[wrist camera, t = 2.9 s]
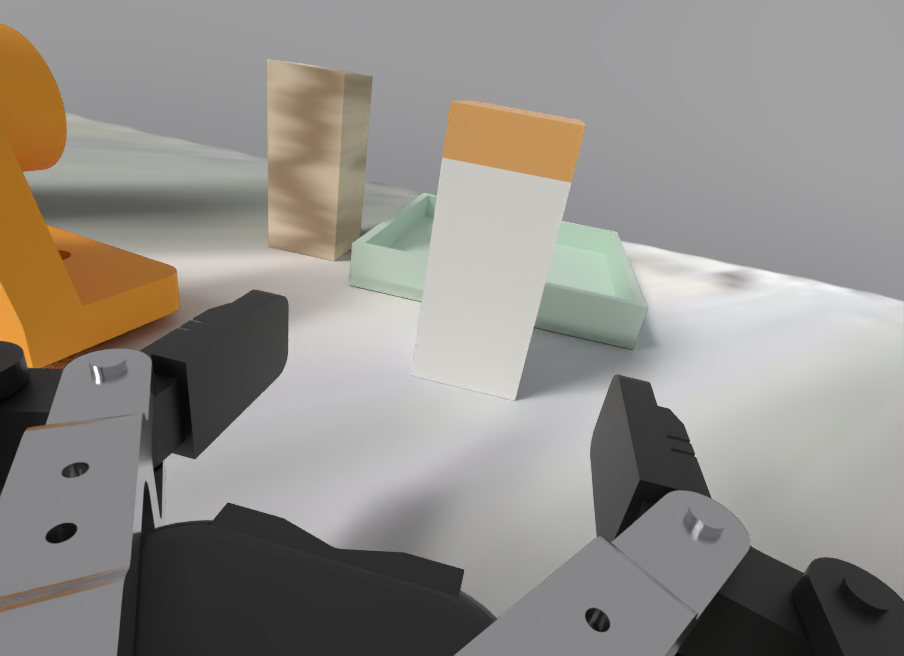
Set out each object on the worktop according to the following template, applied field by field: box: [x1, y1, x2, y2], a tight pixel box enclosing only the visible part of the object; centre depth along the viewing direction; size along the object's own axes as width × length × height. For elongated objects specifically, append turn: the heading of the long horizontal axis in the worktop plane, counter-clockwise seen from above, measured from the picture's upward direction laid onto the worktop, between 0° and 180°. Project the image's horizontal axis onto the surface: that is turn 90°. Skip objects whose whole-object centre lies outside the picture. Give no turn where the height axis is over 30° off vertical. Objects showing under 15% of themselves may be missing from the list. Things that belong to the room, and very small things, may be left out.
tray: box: [349, 193, 648, 350], centre depth 38 cm, size 18×18×3 cm
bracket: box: [0, 24, 180, 368], centre depth 21 cm, size 11×7×12 cm, turn 69°
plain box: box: [267, 59, 372, 261], centre depth 35 cm, size 5×5×12 cm
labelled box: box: [411, 100, 586, 401], centre depth 23 cm, size 5×5×12 cm
